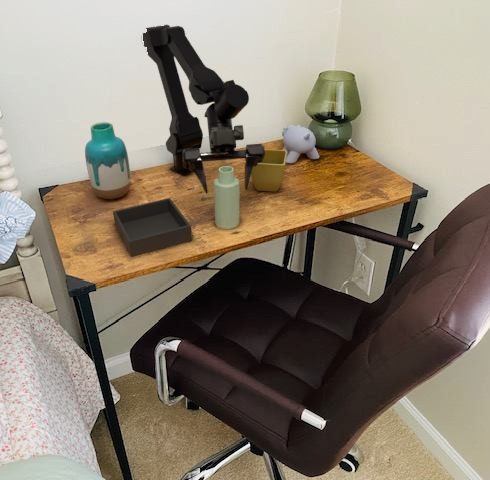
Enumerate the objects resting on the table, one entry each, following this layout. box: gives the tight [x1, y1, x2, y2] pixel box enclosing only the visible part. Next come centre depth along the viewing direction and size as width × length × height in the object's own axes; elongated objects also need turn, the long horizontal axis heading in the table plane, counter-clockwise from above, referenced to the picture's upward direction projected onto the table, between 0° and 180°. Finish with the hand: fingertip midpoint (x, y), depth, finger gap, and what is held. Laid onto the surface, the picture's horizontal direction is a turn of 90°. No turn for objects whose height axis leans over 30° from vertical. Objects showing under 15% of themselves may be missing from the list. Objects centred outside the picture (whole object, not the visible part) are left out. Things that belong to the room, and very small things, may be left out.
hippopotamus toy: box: [281, 124, 320, 164], centre depth 143 cm, size 11×15×10 cm
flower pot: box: [250, 148, 287, 193], centre depth 127 cm, size 9×9×9 cm
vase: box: [84, 121, 132, 200], centre depth 124 cm, size 11×11×19 cm
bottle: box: [213, 165, 240, 230], centre depth 112 cm, size 6×6×14 cm
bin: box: [112, 197, 193, 258], centre depth 112 cm, size 14×14×4 cm
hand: (226, 191), depth 112 cm, fingers open, 9 cm apart
